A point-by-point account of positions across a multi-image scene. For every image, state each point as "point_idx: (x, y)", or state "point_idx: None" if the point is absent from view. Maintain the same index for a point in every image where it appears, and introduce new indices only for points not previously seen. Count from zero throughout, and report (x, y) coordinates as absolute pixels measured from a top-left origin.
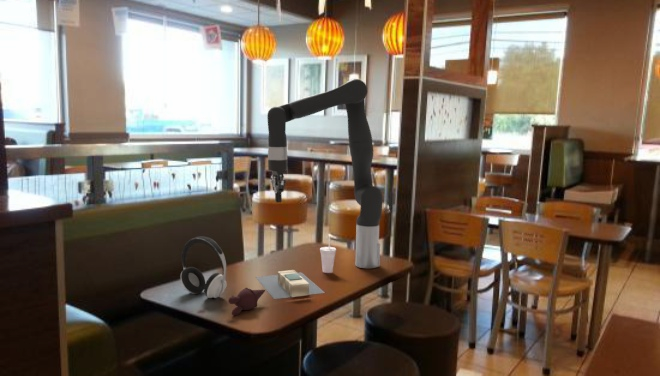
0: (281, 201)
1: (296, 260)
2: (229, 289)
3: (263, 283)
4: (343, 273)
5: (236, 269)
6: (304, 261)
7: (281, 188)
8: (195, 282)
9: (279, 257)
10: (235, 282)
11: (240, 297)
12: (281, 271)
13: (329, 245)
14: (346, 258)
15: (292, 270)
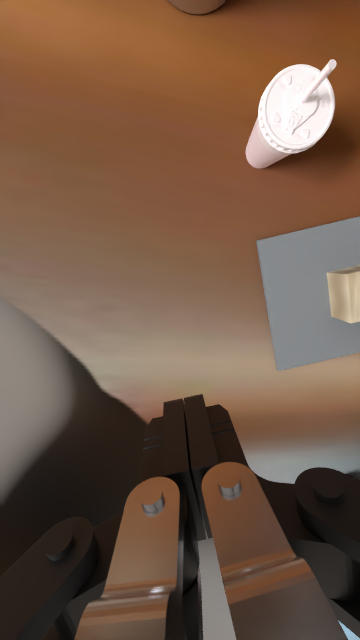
0: (201, 394)
1: (110, 239)
2: (340, 425)
3: (332, 352)
4: None
5: None
6: (123, 212)
7: (289, 548)
8: None
9: (71, 293)
10: (294, 414)
11: None
12: (353, 312)
13: (312, 91)
14: (90, 28)
15: (352, 278)
